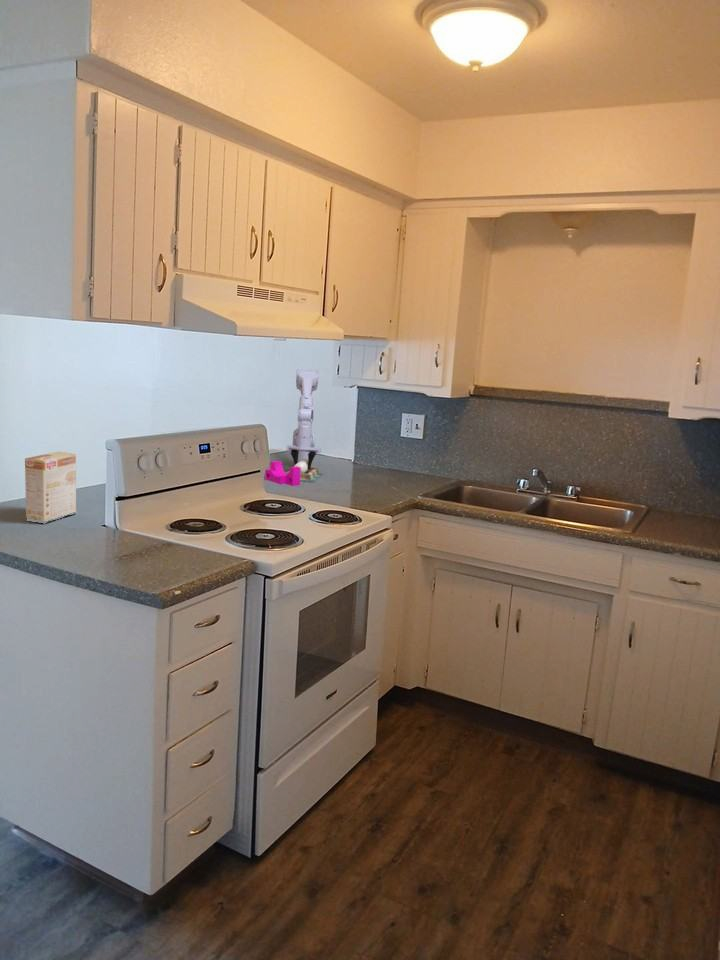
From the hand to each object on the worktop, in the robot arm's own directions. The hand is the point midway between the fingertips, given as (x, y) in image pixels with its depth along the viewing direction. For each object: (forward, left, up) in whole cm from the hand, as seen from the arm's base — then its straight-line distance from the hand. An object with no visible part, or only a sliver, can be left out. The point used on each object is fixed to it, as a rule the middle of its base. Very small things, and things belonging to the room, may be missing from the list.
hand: (302, 468), depth 328 cm
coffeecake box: (+102, -55, -4) cm, 116 cm away
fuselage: (0, 0, -2) cm, 2 cm away
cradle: (0, 0, -4) cm, 4 cm away
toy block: (+15, -5, -4) cm, 17 cm away
